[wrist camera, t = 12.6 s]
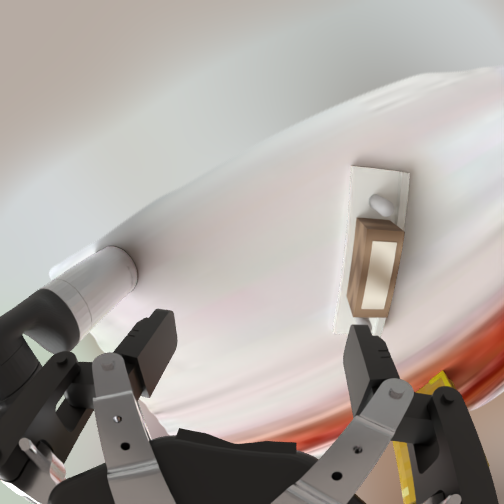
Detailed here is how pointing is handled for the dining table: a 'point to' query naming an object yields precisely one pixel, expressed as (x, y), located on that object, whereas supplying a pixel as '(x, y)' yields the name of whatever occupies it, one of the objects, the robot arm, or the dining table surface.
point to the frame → (374, 267)
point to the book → (402, 448)
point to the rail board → (374, 207)
